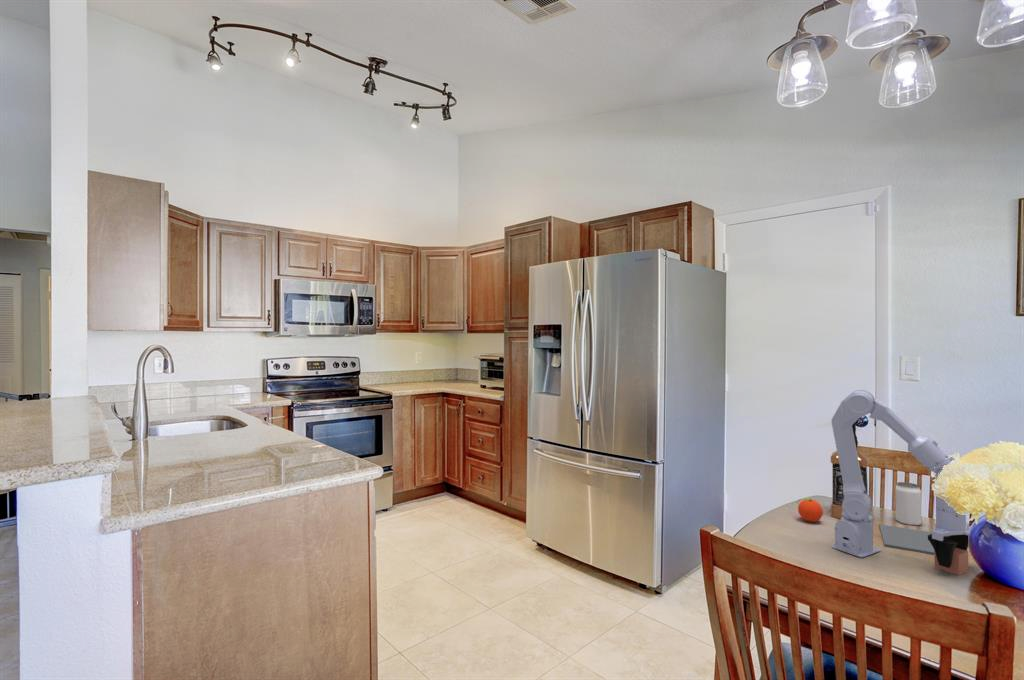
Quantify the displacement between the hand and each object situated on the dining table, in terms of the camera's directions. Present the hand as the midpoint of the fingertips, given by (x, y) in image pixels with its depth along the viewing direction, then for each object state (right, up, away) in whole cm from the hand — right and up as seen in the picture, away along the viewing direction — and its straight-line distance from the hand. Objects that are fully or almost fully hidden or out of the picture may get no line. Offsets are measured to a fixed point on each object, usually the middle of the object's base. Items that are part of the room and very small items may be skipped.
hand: (951, 563), depth 127 cm
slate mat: (+4, -1, +18) cm, 18 cm away
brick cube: (0, -2, 0) cm, 2 cm away
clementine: (-16, -2, +35) cm, 38 cm away
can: (+15, -2, +32) cm, 36 cm away
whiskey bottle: (0, -2, +39) cm, 39 cm away
